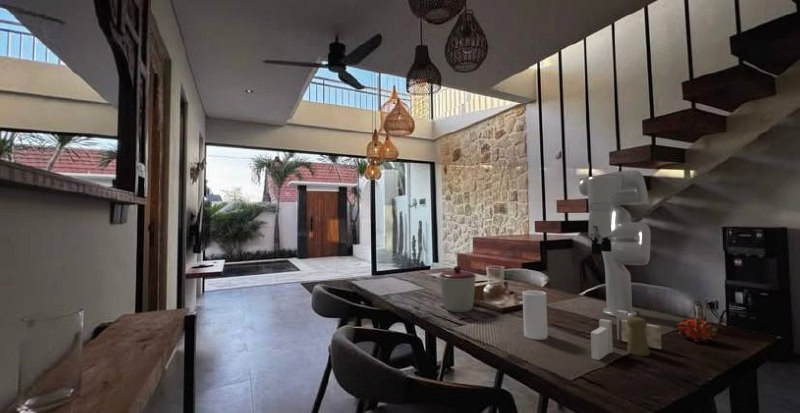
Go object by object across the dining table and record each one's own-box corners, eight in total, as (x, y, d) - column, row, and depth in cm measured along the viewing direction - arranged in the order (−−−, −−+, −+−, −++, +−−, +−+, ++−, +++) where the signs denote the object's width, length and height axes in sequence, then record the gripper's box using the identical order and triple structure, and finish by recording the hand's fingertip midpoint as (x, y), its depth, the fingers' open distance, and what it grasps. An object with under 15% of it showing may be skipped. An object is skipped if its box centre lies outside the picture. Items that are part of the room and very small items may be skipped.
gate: (618, 340, 120) (617, 319, 120) (620, 338, 121) (619, 318, 121) (660, 349, 111) (659, 327, 111) (661, 347, 112) (660, 325, 112)
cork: (653, 356, 107) (651, 320, 107) (632, 355, 108) (630, 320, 108) (643, 348, 113) (642, 315, 113) (623, 347, 114) (622, 314, 114)
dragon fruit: (724, 350, 114) (678, 347, 121) (718, 329, 119) (675, 327, 127) (720, 333, 111) (673, 331, 118) (714, 312, 116) (670, 312, 124)
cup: (529, 330, 133) (528, 289, 134) (551, 335, 127) (549, 292, 128) (520, 336, 127) (518, 292, 128) (542, 341, 122) (540, 296, 122)
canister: (450, 303, 177) (449, 262, 178) (483, 307, 167) (482, 264, 167) (432, 311, 163) (431, 267, 163) (468, 317, 152) (466, 270, 152)
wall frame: (625, 333, 127) (624, 306, 127) (634, 335, 124) (633, 308, 124) (590, 357, 107) (588, 325, 107) (600, 360, 105) (599, 327, 105)
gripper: (598, 207, 139) (600, 249, 139) (579, 209, 128) (581, 254, 128) (618, 207, 133) (620, 251, 133) (601, 208, 122) (603, 256, 122)
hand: (601, 252), depth 131 cm, fingers open, 9 cm apart
